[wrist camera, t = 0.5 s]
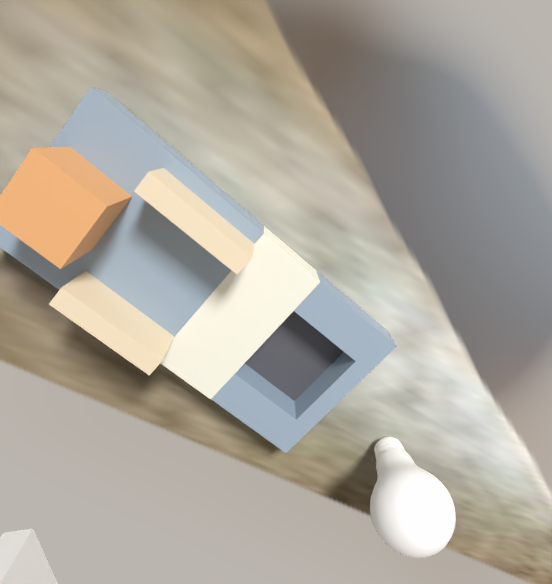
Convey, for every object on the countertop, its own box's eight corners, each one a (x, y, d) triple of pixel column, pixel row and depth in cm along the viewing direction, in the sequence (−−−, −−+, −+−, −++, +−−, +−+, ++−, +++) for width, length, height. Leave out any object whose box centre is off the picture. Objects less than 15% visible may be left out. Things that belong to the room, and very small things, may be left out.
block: (30, 204, 31) (-13, 215, 26) (70, 146, 30) (32, 147, 25) (91, 250, 32) (60, 269, 27) (132, 196, 31) (107, 206, 26)
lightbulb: (429, 453, 42) (482, 557, 31) (370, 480, 43) (402, 590, 32) (402, 403, 40) (449, 496, 30) (341, 432, 41) (365, 532, 30)
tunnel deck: (11, 230, 35) (-51, 251, 28) (107, 91, 32) (63, 78, 25) (284, 431, 41) (287, 487, 34) (387, 330, 38) (412, 371, 31)
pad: (163, 343, 38) (154, 359, 35) (264, 226, 35) (263, 233, 32) (215, 380, 39) (210, 399, 36) (316, 271, 36) (320, 282, 33)
